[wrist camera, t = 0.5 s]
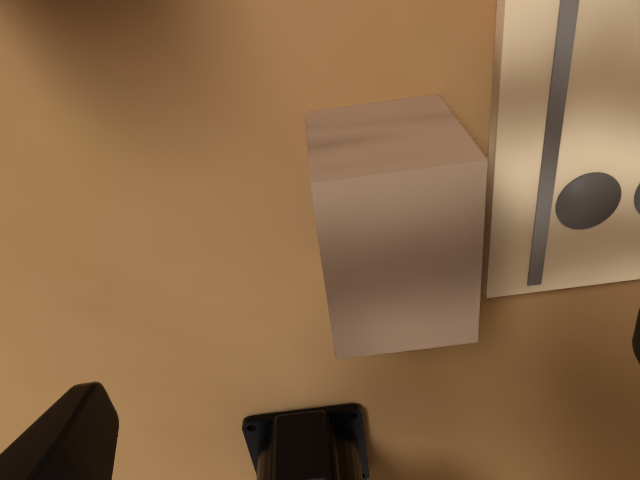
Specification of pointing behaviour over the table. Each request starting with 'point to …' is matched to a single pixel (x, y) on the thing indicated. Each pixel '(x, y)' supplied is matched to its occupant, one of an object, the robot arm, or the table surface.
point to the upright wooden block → (398, 224)
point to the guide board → (563, 146)
